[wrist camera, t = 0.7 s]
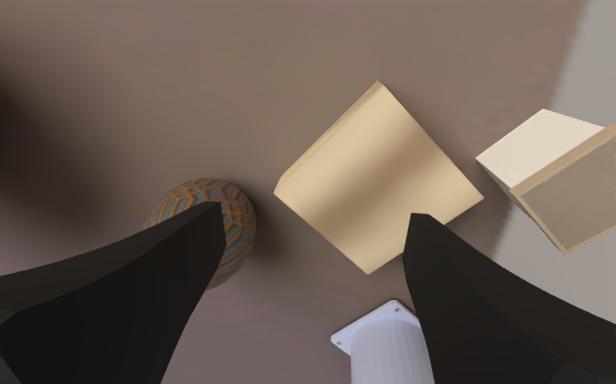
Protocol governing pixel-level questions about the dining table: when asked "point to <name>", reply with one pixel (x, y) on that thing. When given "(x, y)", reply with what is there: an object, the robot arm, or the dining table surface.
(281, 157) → the dining table surface
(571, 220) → the framed cream cube
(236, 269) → the vase
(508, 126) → the dining table surface
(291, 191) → the block
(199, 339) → the dining table surface
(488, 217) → the dining table surface
